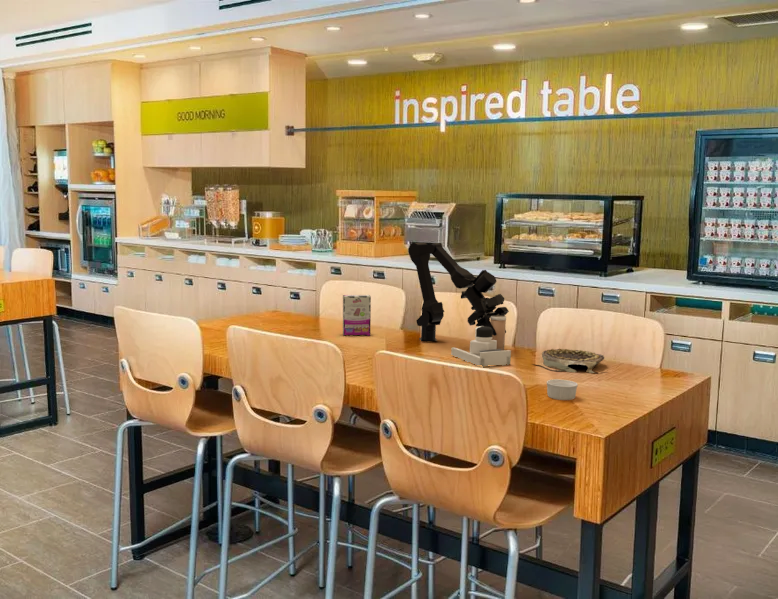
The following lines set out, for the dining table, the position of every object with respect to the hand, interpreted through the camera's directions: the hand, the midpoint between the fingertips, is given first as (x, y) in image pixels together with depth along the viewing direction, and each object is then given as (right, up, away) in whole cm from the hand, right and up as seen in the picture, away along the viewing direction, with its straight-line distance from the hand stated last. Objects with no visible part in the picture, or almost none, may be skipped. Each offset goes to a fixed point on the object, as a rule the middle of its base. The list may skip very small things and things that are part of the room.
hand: (500, 334), depth 288 cm
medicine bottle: (-8, -9, -12) cm, 17 cm away
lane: (-9, -9, -10) cm, 16 cm away
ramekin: (+9, -16, -59) cm, 62 cm away
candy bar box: (-54, -2, +34) cm, 64 cm away
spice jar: (-1, -6, +2) cm, 7 cm away
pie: (+23, -11, -14) cm, 29 cm away
